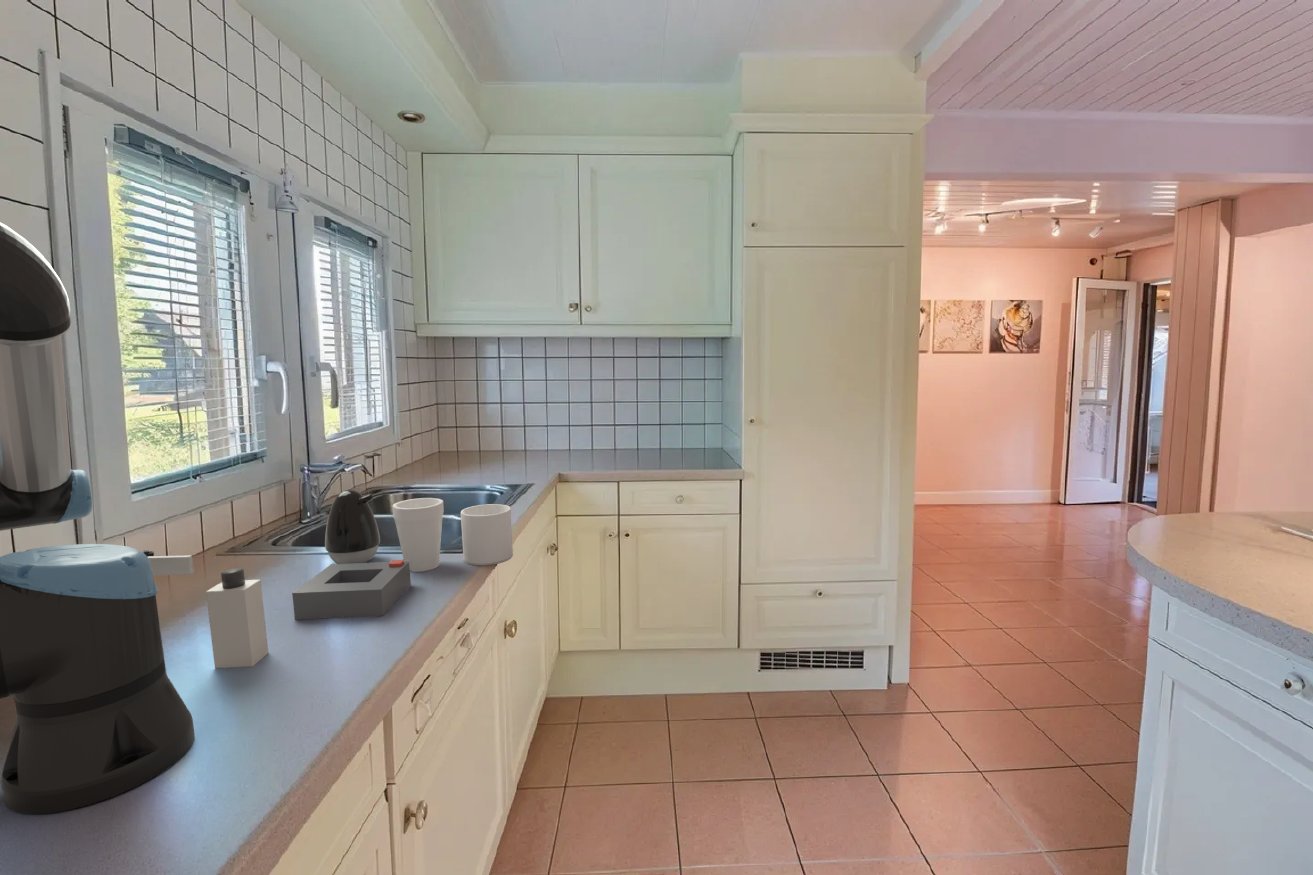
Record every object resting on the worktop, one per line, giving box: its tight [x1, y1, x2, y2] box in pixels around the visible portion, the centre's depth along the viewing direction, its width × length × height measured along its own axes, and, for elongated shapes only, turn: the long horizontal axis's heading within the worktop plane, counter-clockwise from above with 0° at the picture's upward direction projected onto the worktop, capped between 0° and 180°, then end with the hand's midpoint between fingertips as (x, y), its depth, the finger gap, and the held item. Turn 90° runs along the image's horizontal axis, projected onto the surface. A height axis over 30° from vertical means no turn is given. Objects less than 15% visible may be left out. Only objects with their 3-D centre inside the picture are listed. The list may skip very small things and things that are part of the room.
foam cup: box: [391, 497, 445, 573], centre depth 127 cm, size 10×9×13 cm
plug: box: [205, 567, 269, 669], centre depth 88 cm, size 4×5×13 cm
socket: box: [291, 559, 412, 621], centre depth 110 cm, size 14×14×5 cm
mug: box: [460, 503, 514, 567], centre depth 133 cm, size 13×10×10 cm
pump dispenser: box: [324, 489, 381, 564], centre depth 130 cm, size 10×10×15 cm
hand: (159, 581), depth 87 cm, fingers open, 13 cm apart
